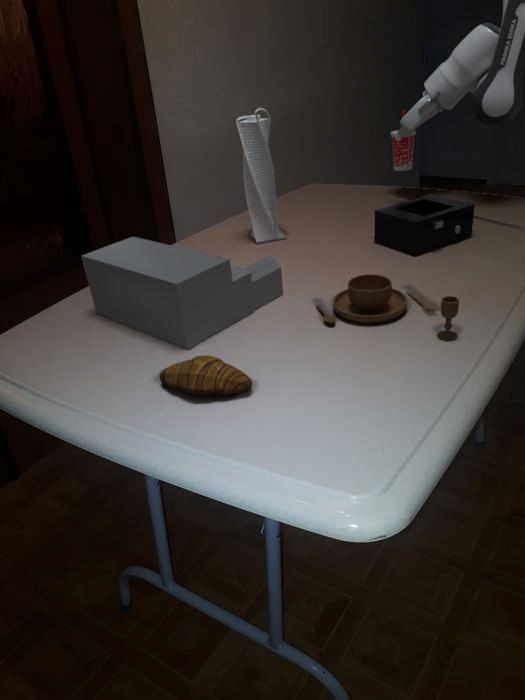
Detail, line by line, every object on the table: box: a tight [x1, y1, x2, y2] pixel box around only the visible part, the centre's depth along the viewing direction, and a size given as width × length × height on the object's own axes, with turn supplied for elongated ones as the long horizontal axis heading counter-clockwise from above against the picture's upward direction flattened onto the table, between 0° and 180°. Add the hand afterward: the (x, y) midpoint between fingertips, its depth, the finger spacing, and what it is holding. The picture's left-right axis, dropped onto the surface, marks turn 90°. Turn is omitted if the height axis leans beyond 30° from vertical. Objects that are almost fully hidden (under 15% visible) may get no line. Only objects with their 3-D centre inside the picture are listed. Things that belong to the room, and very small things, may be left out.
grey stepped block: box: [80, 236, 284, 350], centre depth 97 cm, size 25×23×11 cm
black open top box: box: [374, 193, 476, 258], centre depth 115 cm, size 16×13×7 cm
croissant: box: [159, 354, 253, 396], centre depth 74 cm, size 14×7×5 cm, turn 71°
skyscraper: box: [235, 107, 287, 245], centre depth 121 cm, size 8×8×28 cm
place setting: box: [315, 273, 460, 341], centre depth 87 cm, size 18×20×6 cm
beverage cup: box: [390, 109, 417, 172], centre depth 139 cm, size 6×6×14 cm
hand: (400, 136), depth 139 cm, fingers closed on beverage cup, 6 cm apart
